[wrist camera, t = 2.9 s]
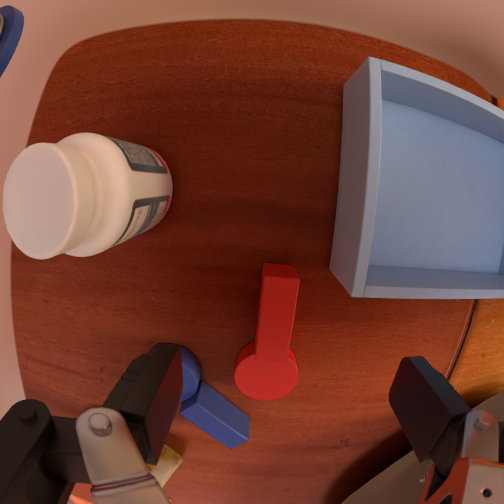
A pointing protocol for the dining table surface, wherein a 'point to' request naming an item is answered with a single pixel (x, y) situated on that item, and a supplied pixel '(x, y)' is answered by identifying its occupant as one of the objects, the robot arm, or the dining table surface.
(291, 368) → the red bar with cylinder
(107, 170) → the pill bottle
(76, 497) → the coral bin
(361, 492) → the plate
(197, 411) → the blue spoon
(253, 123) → the dining table surface
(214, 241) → the dining table surface
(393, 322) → the dining table surface
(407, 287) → the blue bin
